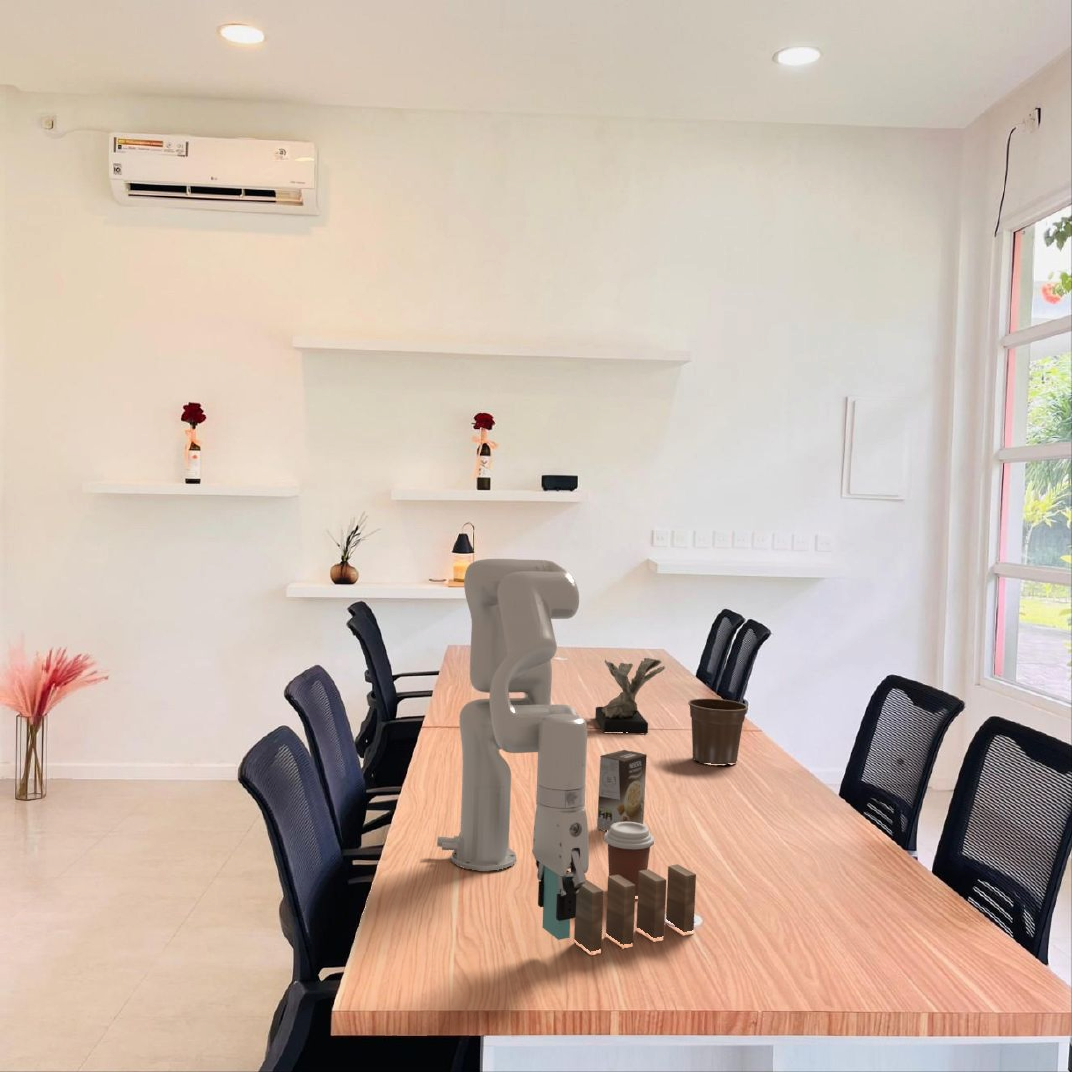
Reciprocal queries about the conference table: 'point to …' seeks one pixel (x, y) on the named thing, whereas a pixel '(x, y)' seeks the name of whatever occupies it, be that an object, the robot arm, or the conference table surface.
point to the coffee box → (621, 788)
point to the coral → (626, 699)
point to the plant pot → (716, 729)
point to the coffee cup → (628, 850)
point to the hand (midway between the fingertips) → (556, 910)
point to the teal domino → (553, 906)
